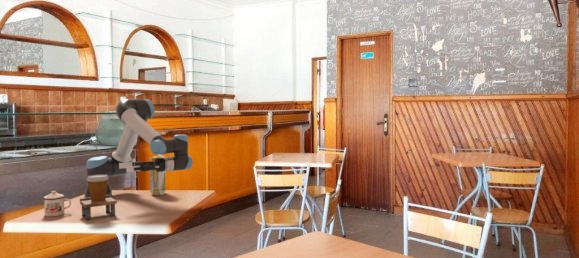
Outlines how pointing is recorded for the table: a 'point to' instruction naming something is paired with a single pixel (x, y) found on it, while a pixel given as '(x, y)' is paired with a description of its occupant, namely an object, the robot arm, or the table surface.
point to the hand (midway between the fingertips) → (122, 167)
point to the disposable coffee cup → (97, 187)
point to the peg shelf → (88, 204)
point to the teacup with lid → (54, 204)
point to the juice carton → (157, 180)
